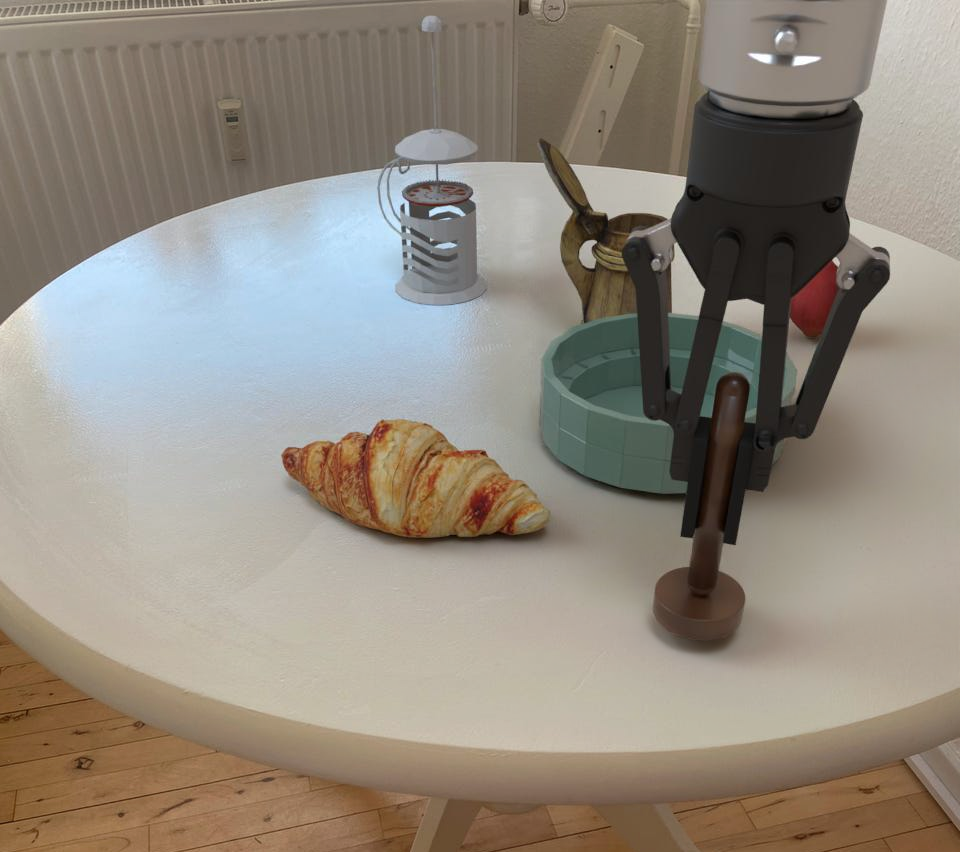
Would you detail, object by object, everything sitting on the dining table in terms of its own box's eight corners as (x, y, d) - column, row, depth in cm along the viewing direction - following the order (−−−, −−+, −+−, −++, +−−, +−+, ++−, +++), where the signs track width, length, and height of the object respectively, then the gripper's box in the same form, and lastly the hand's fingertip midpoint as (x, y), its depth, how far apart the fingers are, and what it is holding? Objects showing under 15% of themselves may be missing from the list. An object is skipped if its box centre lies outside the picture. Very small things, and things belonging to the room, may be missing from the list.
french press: (457, 312, 107) (449, 30, 91) (362, 290, 111) (339, 18, 95) (504, 279, 113) (505, 10, 97) (412, 260, 118) (399, 0, 101)
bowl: (789, 397, 92) (803, 326, 88) (772, 519, 78) (787, 440, 74) (568, 371, 96) (572, 302, 92) (514, 481, 82) (515, 406, 78)
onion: (809, 319, 105) (826, 237, 99) (854, 340, 101) (874, 256, 96) (767, 333, 102) (781, 250, 97) (811, 355, 98) (829, 270, 93)
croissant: (556, 554, 80) (576, 449, 78) (524, 570, 71) (545, 451, 69) (305, 500, 86) (318, 400, 84) (243, 508, 76) (256, 396, 74)
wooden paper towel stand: (745, 593, 69) (792, 357, 58) (737, 647, 65) (785, 403, 54) (659, 579, 70) (689, 345, 59) (645, 631, 66) (675, 390, 55)
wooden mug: (537, 318, 105) (542, 123, 94) (675, 325, 104) (697, 127, 92) (528, 357, 99) (532, 152, 87) (674, 365, 97) (698, 158, 85)
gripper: (602, 105, 47) (575, 544, 62) (957, 129, 44) (837, 585, 59) (631, 67, 52) (600, 478, 67) (949, 85, 49) (840, 513, 64)
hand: (710, 527), depth 63 cm, fingers closed on wooden paper towel stand, 2 cm apart
